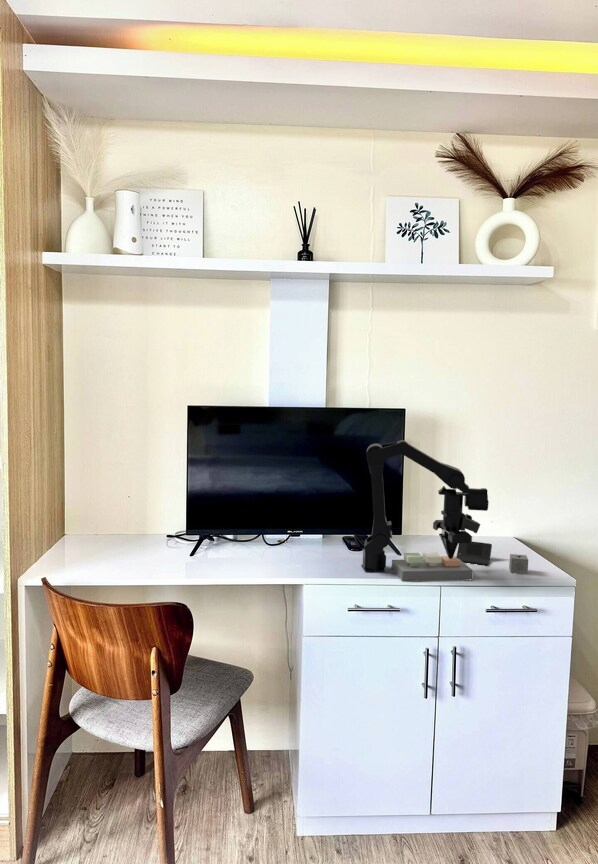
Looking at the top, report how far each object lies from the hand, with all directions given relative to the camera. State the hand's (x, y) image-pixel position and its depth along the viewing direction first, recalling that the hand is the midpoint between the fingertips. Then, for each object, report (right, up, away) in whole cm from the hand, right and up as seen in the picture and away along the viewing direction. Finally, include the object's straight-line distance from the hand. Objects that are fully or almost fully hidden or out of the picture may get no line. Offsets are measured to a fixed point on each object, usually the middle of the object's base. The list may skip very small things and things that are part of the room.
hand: (450, 558), depth 216 cm
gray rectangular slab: (-6, -5, 0) cm, 8 cm away
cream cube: (-6, -3, 0) cm, 7 cm away
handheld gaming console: (+11, -4, +16) cm, 20 cm away
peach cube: (0, -5, +1) cm, 5 cm away
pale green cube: (-12, -3, -1) cm, 13 cm away
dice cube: (+23, -5, +5) cm, 24 cm away
